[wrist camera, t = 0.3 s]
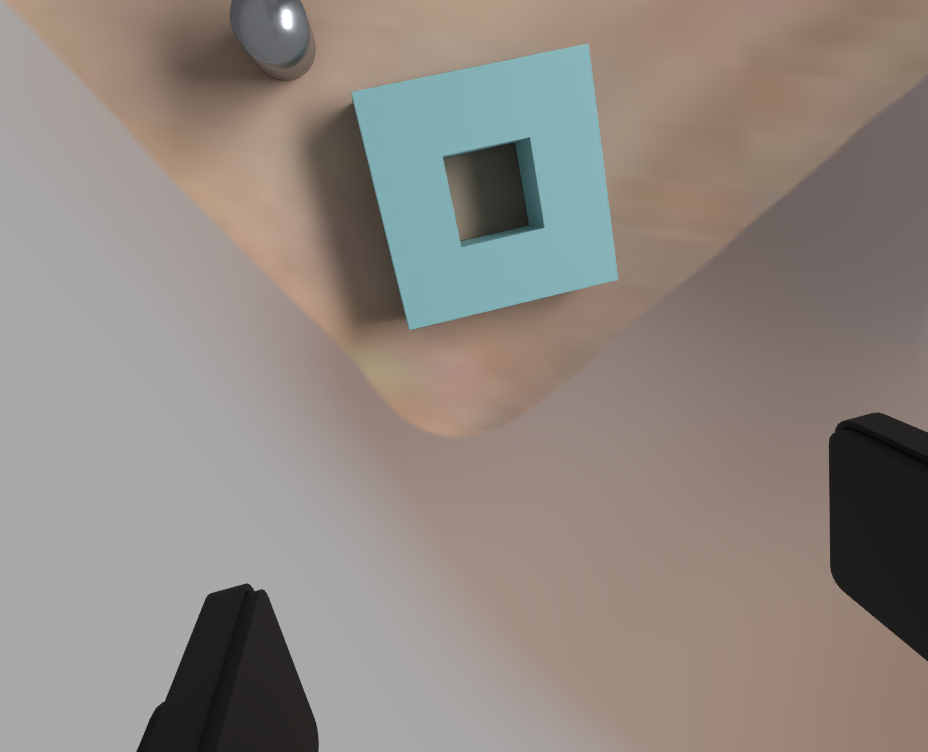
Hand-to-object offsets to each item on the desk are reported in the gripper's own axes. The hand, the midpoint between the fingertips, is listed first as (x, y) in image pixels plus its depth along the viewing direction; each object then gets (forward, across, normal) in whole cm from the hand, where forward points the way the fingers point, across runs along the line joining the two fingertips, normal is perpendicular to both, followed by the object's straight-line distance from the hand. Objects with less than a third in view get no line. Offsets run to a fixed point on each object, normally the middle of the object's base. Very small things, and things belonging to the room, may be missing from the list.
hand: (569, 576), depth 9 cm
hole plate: (+30, -5, -5) cm, 31 cm away
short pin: (+30, +4, -15) cm, 34 cm away
